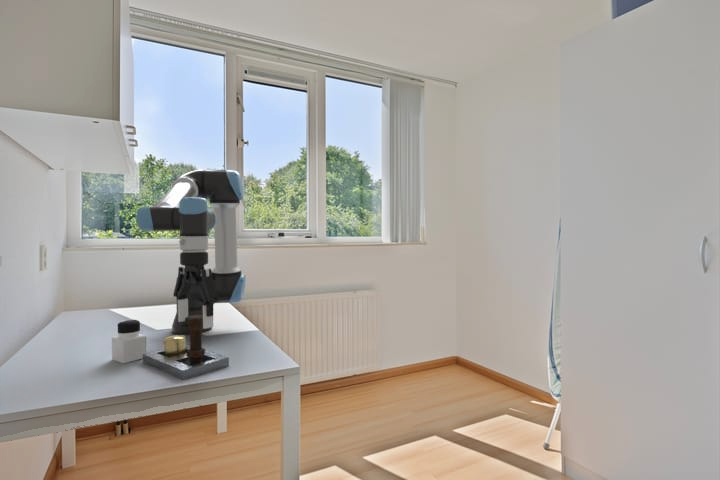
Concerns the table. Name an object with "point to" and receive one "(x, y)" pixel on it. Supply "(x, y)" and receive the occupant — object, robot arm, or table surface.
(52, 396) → the table surface
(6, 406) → the table surface
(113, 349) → the medicine bottle
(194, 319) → the bolt
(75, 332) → the table surface
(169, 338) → the hole plate
